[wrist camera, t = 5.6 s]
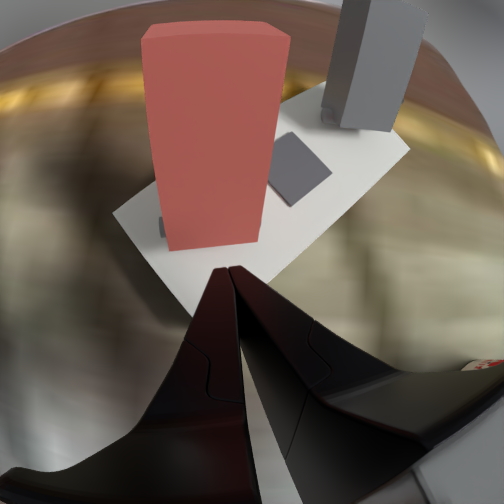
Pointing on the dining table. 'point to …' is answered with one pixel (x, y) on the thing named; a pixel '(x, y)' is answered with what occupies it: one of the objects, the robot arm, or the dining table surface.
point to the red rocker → (212, 126)
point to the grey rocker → (371, 63)
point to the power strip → (275, 199)
